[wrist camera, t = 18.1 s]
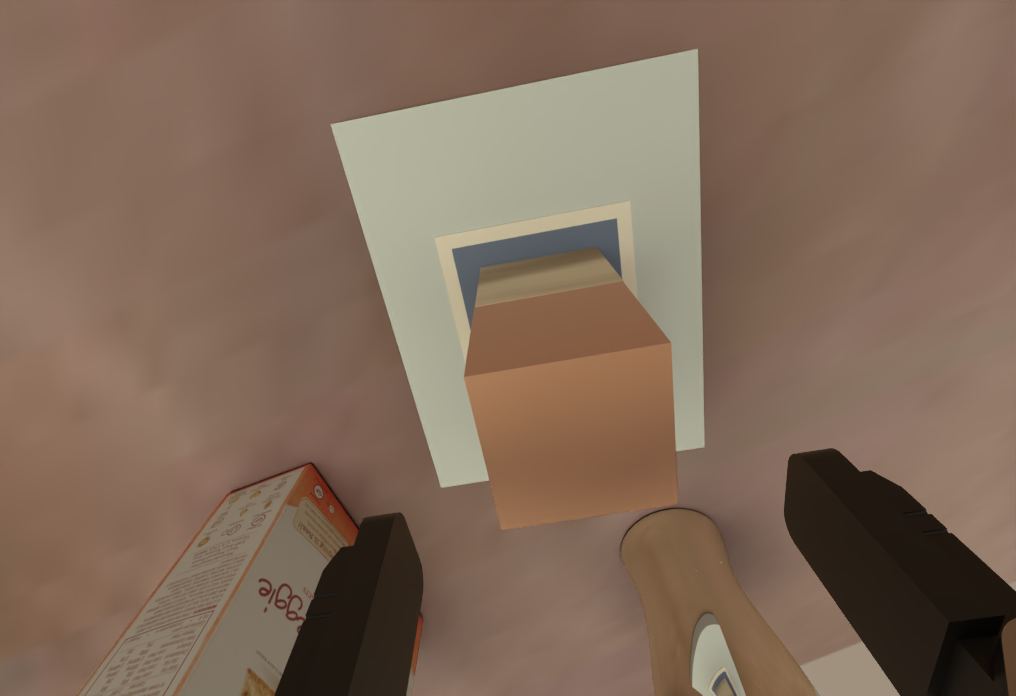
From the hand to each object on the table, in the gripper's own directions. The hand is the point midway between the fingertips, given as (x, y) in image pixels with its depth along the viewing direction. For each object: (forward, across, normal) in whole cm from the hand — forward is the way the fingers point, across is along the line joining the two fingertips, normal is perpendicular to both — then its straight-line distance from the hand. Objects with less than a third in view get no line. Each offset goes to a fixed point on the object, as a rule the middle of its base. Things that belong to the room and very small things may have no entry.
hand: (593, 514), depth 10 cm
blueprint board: (+14, 0, 0) cm, 14 cm away
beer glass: (+14, -5, +17) cm, 23 cm away
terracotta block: (+8, 0, 0) cm, 8 cm away
